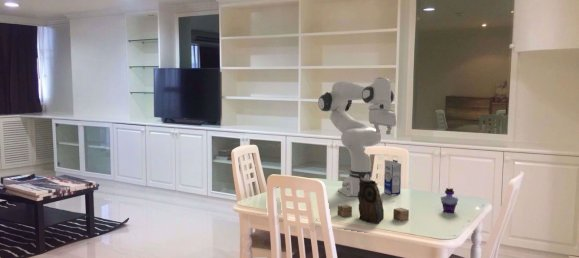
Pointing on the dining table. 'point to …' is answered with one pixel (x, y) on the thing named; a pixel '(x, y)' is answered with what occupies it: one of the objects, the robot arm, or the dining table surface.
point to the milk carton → (392, 177)
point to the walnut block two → (401, 214)
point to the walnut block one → (344, 210)
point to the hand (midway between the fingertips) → (383, 133)
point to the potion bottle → (449, 201)
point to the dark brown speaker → (370, 202)
